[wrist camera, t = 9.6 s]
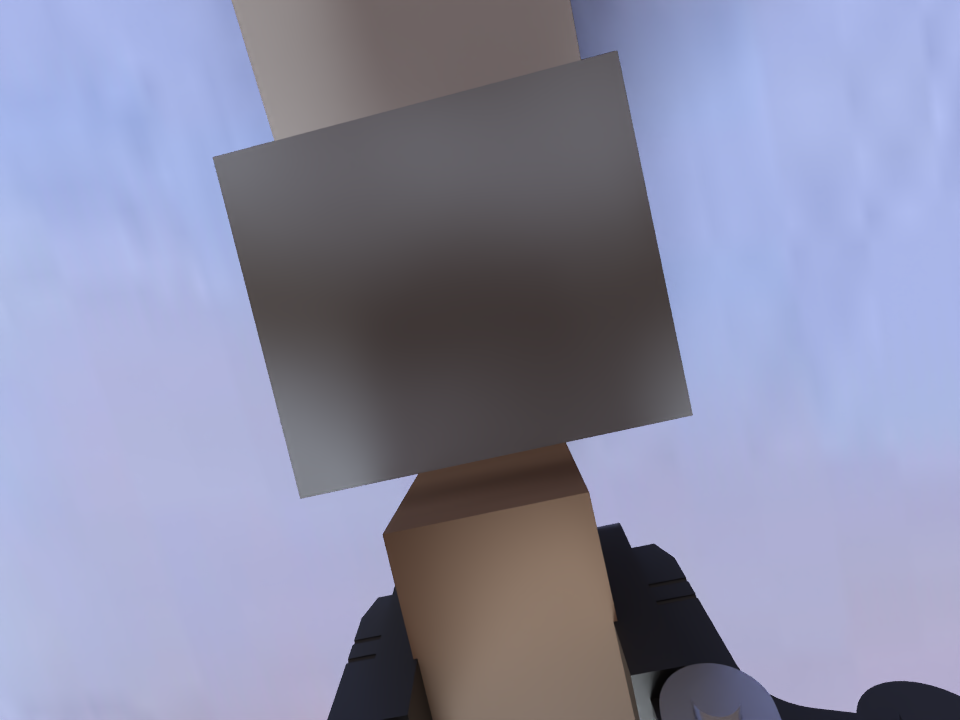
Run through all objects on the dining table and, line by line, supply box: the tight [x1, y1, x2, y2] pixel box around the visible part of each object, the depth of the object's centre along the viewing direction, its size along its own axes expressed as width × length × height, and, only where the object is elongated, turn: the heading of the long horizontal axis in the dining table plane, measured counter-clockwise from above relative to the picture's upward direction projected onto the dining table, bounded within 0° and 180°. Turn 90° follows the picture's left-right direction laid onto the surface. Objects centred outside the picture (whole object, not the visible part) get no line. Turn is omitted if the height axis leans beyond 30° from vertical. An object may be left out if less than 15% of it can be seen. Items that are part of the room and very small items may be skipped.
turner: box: [213, 51, 693, 720], centre depth 9 cm, size 17×8×4 cm, turn 13°
